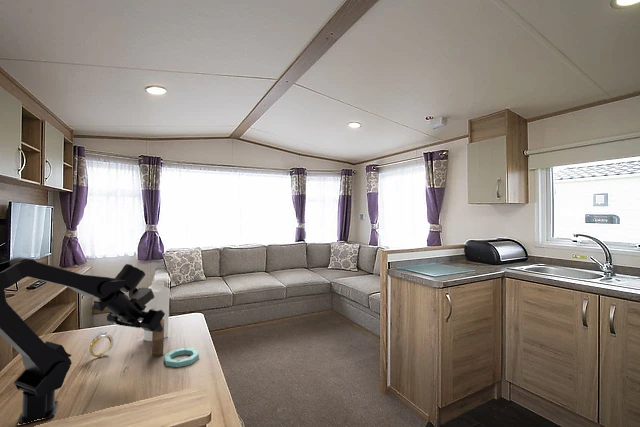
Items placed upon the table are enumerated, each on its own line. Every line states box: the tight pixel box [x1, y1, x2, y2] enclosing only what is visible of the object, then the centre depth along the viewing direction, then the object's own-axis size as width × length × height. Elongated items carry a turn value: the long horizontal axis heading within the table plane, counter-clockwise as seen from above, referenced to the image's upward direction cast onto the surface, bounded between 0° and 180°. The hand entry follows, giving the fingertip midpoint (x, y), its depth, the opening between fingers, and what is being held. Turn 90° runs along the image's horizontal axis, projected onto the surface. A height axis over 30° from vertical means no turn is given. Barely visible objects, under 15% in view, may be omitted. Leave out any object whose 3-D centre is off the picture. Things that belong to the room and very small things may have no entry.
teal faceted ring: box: [163, 347, 200, 368], centre depth 102 cm, size 10×10×2 cm
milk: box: [143, 280, 171, 342], centre depth 118 cm, size 6×6×22 cm
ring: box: [88, 331, 114, 358], centre depth 102 cm, size 7×3×8 cm, turn 145°
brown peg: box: [151, 319, 165, 359], centre depth 104 cm, size 4×4×14 cm
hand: (151, 328), depth 101 cm, fingers open, 9 cm apart
